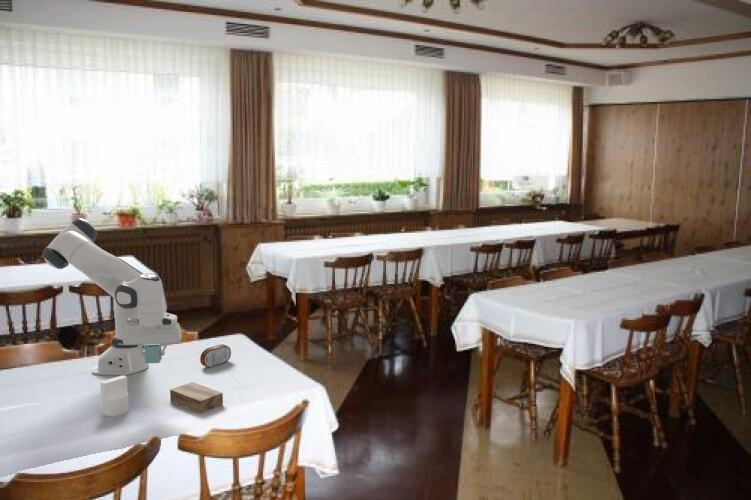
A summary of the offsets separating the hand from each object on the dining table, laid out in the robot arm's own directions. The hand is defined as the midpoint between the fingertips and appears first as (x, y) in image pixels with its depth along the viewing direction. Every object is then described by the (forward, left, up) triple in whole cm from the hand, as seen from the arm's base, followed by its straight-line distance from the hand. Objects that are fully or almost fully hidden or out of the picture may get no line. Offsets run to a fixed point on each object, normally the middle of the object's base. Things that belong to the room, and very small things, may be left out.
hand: (153, 355), depth 230 cm
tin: (+18, +43, -19) cm, 50 cm away
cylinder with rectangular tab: (-13, -4, -19) cm, 24 cm away
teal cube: (0, 0, -2) cm, 2 cm away
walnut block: (+15, 0, -20) cm, 24 cm away
